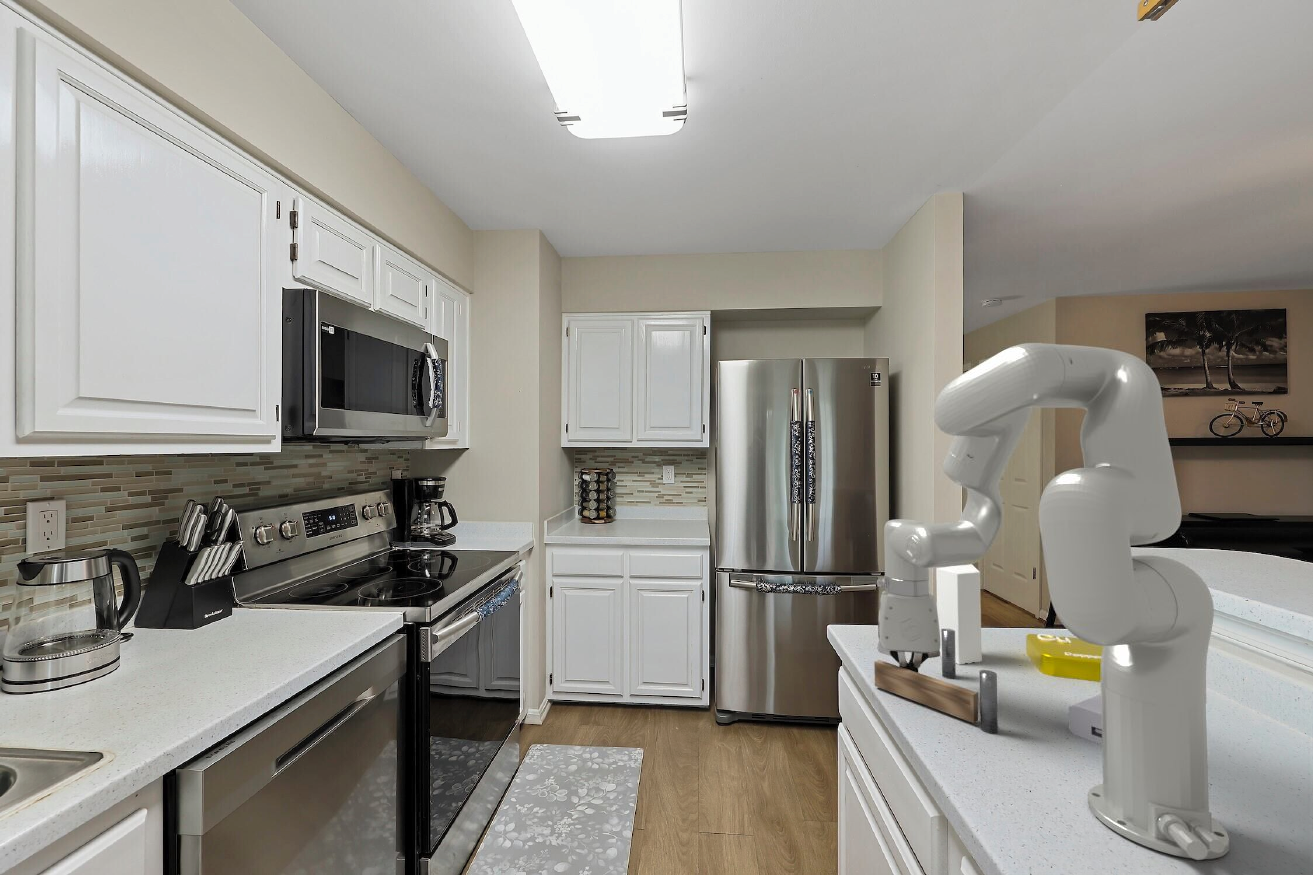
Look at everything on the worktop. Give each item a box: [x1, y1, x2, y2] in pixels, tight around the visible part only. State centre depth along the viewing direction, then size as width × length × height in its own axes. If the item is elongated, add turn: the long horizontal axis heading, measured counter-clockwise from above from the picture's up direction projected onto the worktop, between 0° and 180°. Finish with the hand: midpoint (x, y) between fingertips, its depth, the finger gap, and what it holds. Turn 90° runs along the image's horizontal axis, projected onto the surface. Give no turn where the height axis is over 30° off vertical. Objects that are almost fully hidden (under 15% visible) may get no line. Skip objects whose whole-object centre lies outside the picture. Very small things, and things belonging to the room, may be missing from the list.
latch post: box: [941, 629, 957, 680], centre depth 112 cm, size 2×2×9 cm
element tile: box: [1025, 633, 1104, 683], centre depth 117 cm, size 15×15×5 cm
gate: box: [873, 659, 979, 724], centre depth 100 cm, size 18×2×4 cm, turn 35°
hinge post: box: [979, 669, 999, 734], centre depth 91 cm, size 2×2×9 cm
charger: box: [1068, 693, 1102, 746], centre depth 89 cm, size 5×9×15 cm
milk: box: [935, 564, 983, 666], centre depth 122 cm, size 6×6×22 cm
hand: (909, 686), depth 105 cm, fingers closed
